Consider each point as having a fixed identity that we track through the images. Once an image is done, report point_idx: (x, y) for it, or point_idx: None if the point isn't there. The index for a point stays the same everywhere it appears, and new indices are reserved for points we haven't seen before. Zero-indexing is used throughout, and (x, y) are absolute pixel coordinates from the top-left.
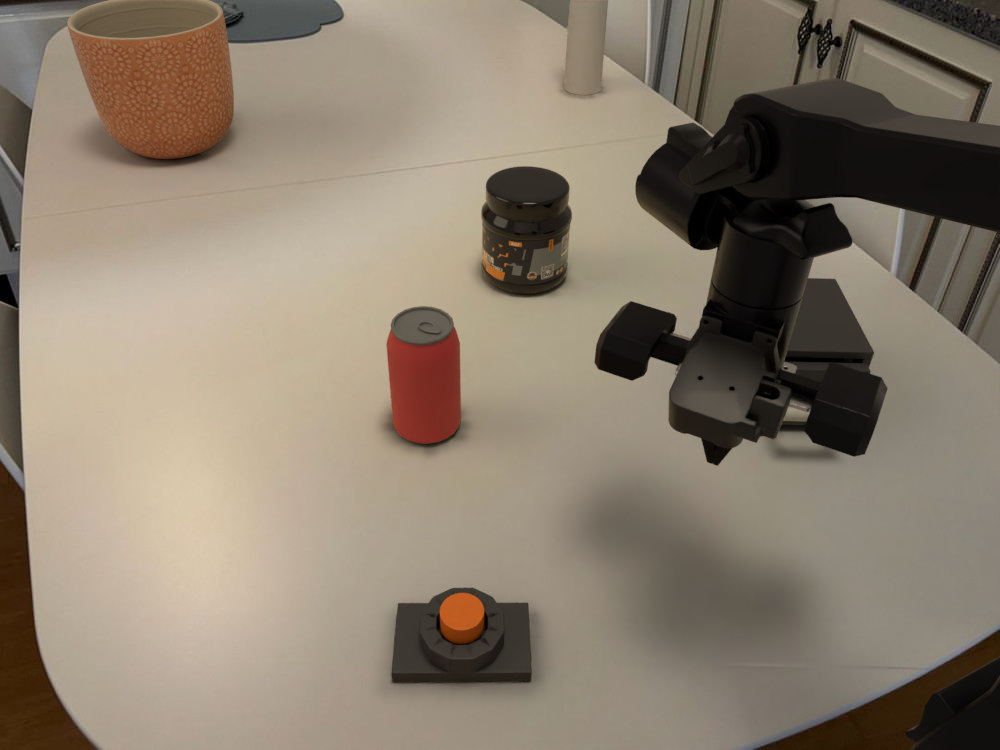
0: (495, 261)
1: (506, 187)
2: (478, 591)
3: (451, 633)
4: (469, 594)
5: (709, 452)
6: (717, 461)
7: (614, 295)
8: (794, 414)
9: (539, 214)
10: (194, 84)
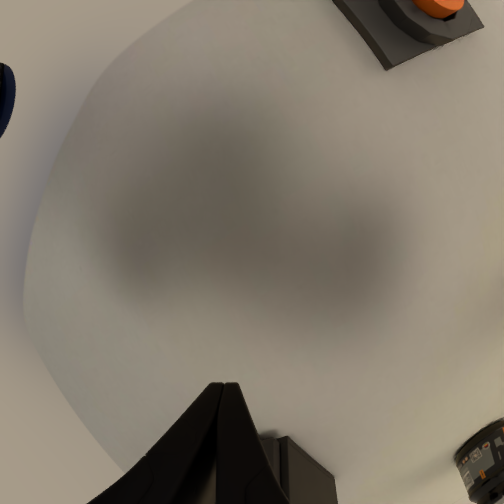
0: None
1: None
2: (446, 36)
3: None
4: (451, 8)
5: (230, 408)
6: (209, 392)
7: (417, 467)
8: None
9: (501, 488)
10: None
